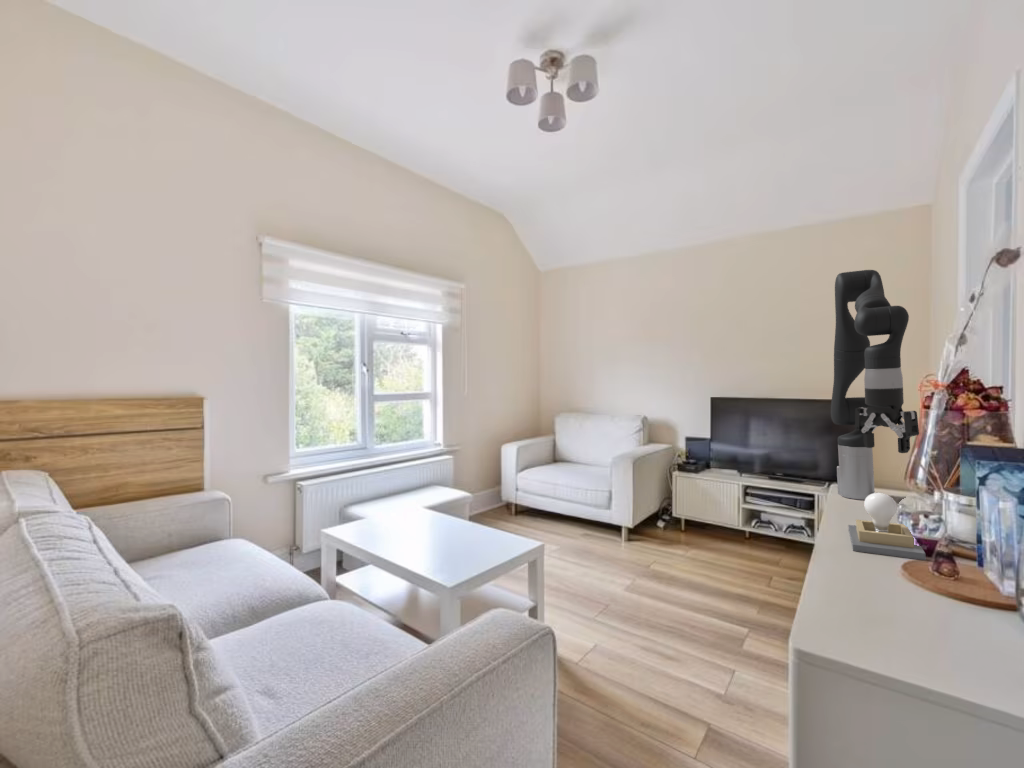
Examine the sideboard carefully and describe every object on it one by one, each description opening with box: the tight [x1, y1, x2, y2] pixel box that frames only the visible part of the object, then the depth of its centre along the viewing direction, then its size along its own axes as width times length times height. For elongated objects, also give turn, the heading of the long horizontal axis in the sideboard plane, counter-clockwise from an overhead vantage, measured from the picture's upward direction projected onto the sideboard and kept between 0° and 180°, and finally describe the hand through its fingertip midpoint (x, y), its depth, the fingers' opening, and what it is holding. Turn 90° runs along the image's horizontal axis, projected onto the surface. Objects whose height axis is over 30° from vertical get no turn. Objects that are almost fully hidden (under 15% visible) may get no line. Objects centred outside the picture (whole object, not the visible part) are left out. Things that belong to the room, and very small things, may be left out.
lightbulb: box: [863, 492, 898, 533], centre depth 112 cm, size 6×6×11 cm
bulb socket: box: [847, 519, 927, 561], centre depth 111 cm, size 16×13×4 cm
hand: (885, 450), depth 115 cm, fingers open, 8 cm apart
